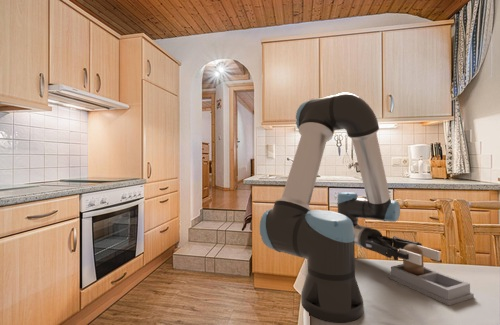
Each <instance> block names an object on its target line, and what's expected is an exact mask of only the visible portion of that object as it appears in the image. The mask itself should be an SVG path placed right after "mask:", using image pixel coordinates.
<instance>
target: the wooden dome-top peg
mask: <svg viewBox="0 0 500 325" xmlns="http://www.w3.org/2000/svg"><path fill="white" fill-rule="evenodd" d="M403 249H404V250H407V251H410V252H413V253H416V254H419V255H422V265H417V264H415V263H412V262H409V261H406V260H404V259H402V264H403V268H404V271H406V272H409V273H411V274H414V275H416V276H419V275H423V274H424V264H425V263H424V256H423V252H422V250H421V248H420V247H418V246H417V245H414V244H408V245H406V246H405V247H404V248H403Z"/></svg>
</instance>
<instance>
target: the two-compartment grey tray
mask: <svg viewBox="0 0 500 325" xmlns="http://www.w3.org/2000/svg"><path fill="white" fill-rule="evenodd" d="M388 278H389V279H391V280H393V281H395V282H397V283H398V284H401V285H404V286H405V287H408V288H410V289H412V290H414V291H416V292H419V293H421V294H424V295H425V296H427V297H430V298H432V299H434V300H436V301H438V302H441V303H442V304H445V305H447V306H452V305H456V304H459V303H462V302H465V301H468V300H470V299H471V300H472V299H473V298H474V297H475V296H474V295H475V294H474V293H472V292H471V283H470V282H469V283H468V282H467V281H464V280H461V279H458V278H455V277H452V276H449V275H446V274H444V273H441V272H439V271H436V270H434V269H433V270H432V269H431V268H427V267H426V266H425V267H424V274H423V275H419V276H416V275H414V274H411V273H409V272H406V271H404V268H403V263H402V264H397V265H392V266H390V274H388Z"/></svg>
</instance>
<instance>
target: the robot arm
mask: <svg viewBox="0 0 500 325" xmlns="http://www.w3.org/2000/svg"><path fill="white" fill-rule="evenodd" d="M295 113H296V114H295V119H296V121H295V124H296V127H297V128H296V129H298V132H299V134H300V138H299V141H298V144H297V148H296V151H295V154H294V157H293V161H292V164H291V166H290V170H289V172H288V177H287V180H286V183H285V187H284V190H283V192H282V196H281V197H280V198H279V199H276V200H275V201H274V204H273V206H272V207H273V208H271V209H267V210H266V211H264V212H263V214H262V216H261V218H260V221H259V234H260V238H261V241H262V242H263V244H264V246H266V248H269V249H271V250H274V251H276V252H278V253H284V254H288V255H292V256H295V257H299V258H303V259H306V265H307V272H306V273H307V274H306V277H305V281H304V283H303V286H302V290H301V294H300V297H301V301H300V303H301V306H302V308H303V309H304V310H305V311H306V313H308V314H310V315H311V316H313V317H315V318H318V319H320V320H322V321H326V322H327V321H328V322H332V323H347V322H352V321H356V320H357V319H360V318H361V317H362V316H363V315H364V312H365V311H364V299H363V296H362V292H361V290H360V287H359V284H358V282H357V279H356V264H355V263H356V260H355V258H356V256H355V255H356V254H355V252H356V250H355V249H356V248H355V246H359V248H360V249H361V248H364V249H366V250H368V251H372V252H375V253H377V254H379V255H381V256H384V257H386V258H388V259H391V258H392V257H393V260H394V261H398V260H399V259H401V260H403V259H404V260H406V261H409V262H412V263H415V264H417V265H422V255H419V254H416V253H413V252H410V251H407V250H404V249H403V248H404V247H405V246H406V245H408V244H414V245H417V246H418V247H420V248H421V250H422V252H423V258H424V257H425V258H427V259H430V260H432V261H433V260H434V261H437V262H441V251H439V250H436V249H433V248H430V247H426V246H422V244H423V243H421V242H420V241H413V240H408V239H404V238H401V237H398V236H392V237H389V236H387V235H382V232H381V231H380V230H379V229H375V228H371V227H368V226H364V225H361V224H359V219H367V220H373V221H383V222H391V223H392V222H398V220H399V218H400V216H401V206H400V205H401V204H399V202H398V200H393V199H391V197H390V191H389V186H388V181H387V177H386V172H385V167H384V162H383V158H382V154H381V149H380V144H379V139H378V135H377V133H378V131H379V130H380V127H379V120H378V119H377V115H376V114H375V112H374V110H373V109H372V107H371V106H370V105H369V104H368V103H367V102H366V100H364V99H363V98H361V97H360V96H358V95H356V94H353V93H350V92H341V93H338V94H332V95H329V96H323V97H318V98H312V99H310V100H306V101H304V102H302V103H301V104H300V105H299V107H297V110H296V112H295ZM339 130H345V131H346V134H347V136H348V138H350V139H351V140H352V145H353V149H354V152H355V157H356V160H357V164H358V168H359V172H360V176H361V180H362V184H363V188H364V191H365V196H366V198H363V197H358V193H357V192H353V191H342V192H339V193H337V203H336V205H337V212H336V211H331V210H327V209H325V210H323V209H311V207H310V204H311V200H312V195H313V192H314V189H315V185H316V180H317V178H318V174H319V170H320V167H321V166H320V165H321V163H322V159H323V156H324V155H323V154H324V152H325V149H326V144H327V143H328V142H329V141H331V140H332V138H333V136H334V133H335V131H339Z"/></svg>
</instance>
